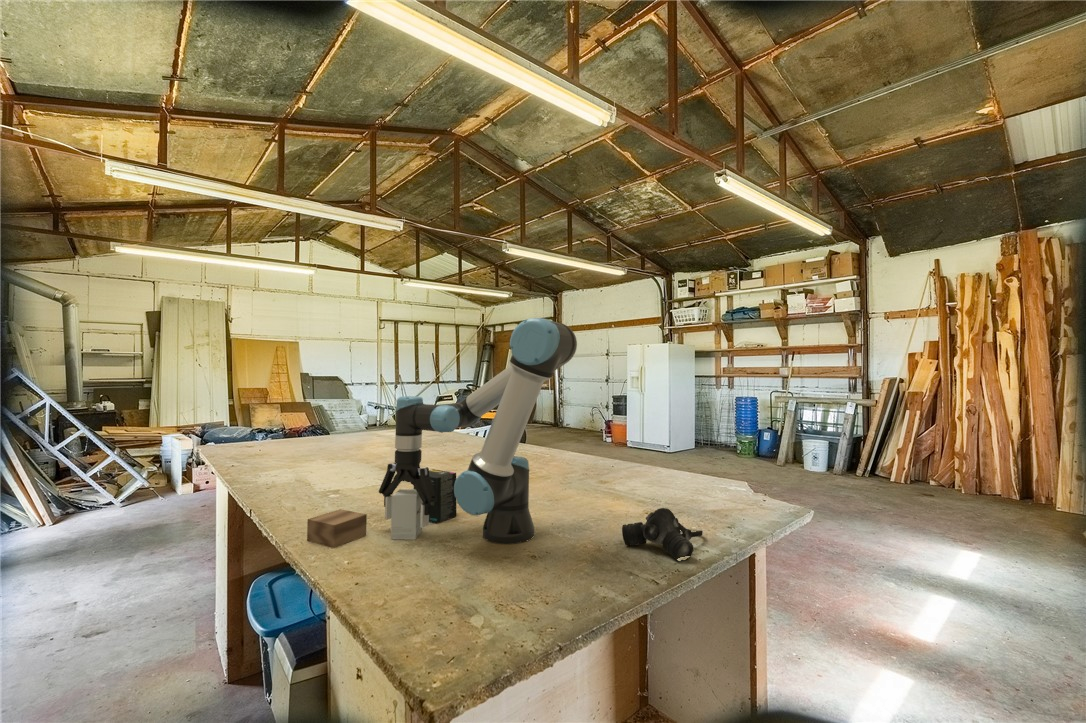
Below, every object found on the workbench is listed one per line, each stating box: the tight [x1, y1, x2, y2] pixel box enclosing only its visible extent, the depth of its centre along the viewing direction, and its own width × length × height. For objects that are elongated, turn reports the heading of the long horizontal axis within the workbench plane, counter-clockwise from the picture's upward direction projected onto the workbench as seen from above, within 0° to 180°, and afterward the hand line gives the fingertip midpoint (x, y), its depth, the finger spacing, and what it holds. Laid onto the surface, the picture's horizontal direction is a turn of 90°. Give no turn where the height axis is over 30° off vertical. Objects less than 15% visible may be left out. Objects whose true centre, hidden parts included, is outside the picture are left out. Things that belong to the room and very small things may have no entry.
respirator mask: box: [621, 507, 703, 560], centre depth 130 cm, size 20×22×15 cm
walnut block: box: [306, 508, 368, 548], centre depth 133 cm, size 11×11×6 cm
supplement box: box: [390, 488, 423, 541], centre depth 135 cm, size 7×7×13 cm
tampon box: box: [413, 469, 458, 524], centre depth 152 cm, size 11×9×15 cm
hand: (406, 522), depth 135 cm, fingers open, 13 cm apart
